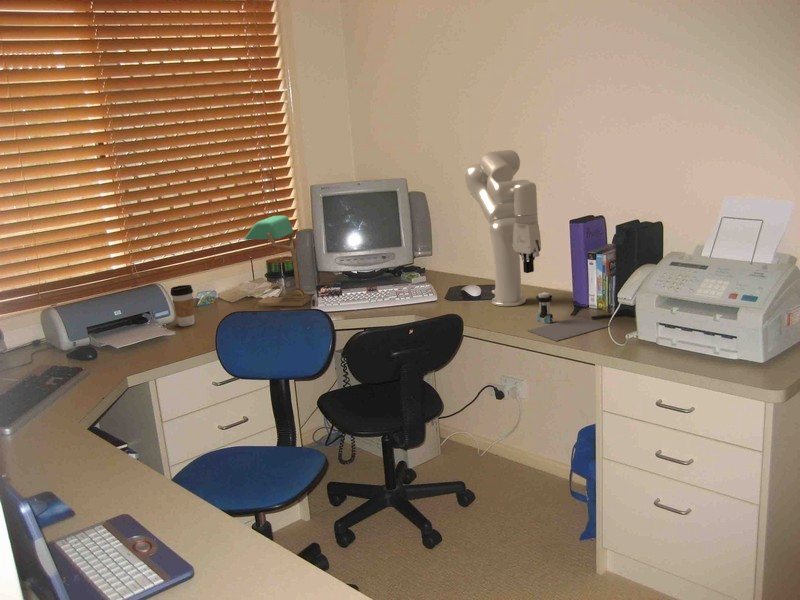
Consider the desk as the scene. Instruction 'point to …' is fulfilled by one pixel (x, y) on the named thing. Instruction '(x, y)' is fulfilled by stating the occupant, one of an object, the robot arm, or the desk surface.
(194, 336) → the desk surface
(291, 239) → the banker's lamp
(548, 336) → the mat
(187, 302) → the coffee cup
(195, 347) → the desk surface
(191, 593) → the desk surface
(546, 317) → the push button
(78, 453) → the desk surface
